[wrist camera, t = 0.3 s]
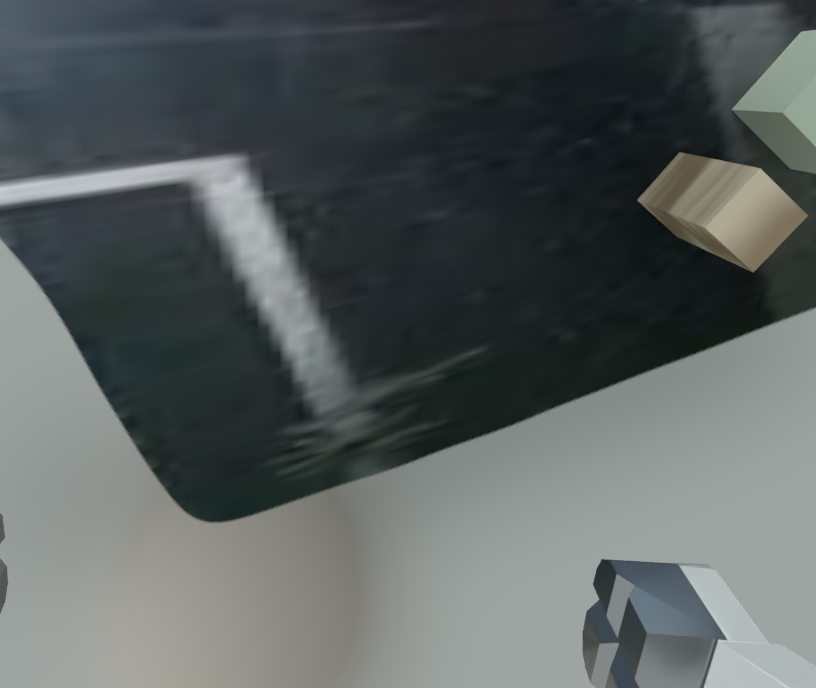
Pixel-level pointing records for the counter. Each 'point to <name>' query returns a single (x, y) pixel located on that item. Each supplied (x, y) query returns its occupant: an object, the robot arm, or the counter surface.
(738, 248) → the maple pillar
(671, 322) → the counter surface
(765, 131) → the sage block
